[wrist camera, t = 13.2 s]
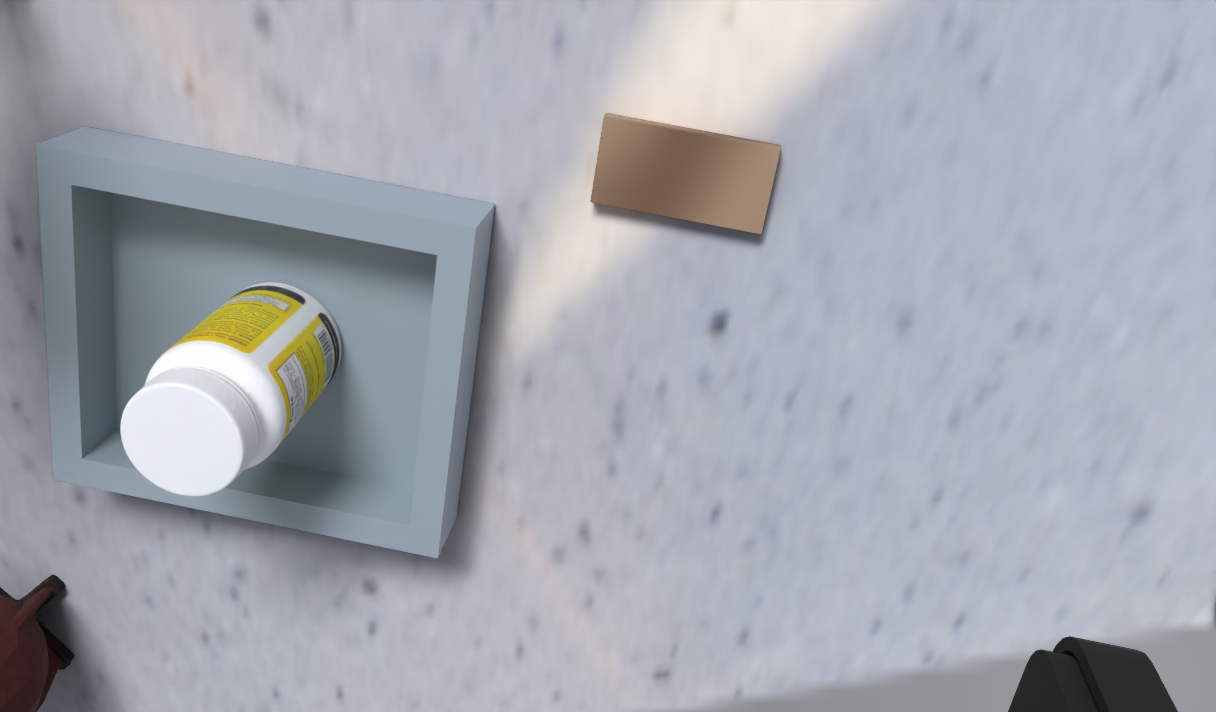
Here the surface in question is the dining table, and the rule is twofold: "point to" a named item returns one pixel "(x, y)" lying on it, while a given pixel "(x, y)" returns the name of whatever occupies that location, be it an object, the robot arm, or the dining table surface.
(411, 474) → the tray
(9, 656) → the mate gourd
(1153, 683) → the robot arm
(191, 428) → the supplement bottle
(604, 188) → the walnut pad
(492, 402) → the dining table surface
